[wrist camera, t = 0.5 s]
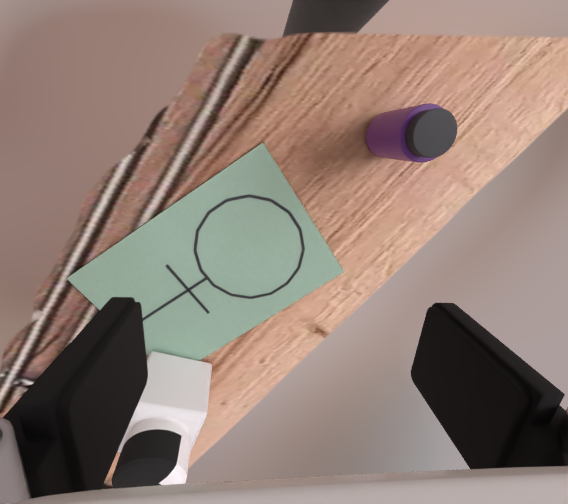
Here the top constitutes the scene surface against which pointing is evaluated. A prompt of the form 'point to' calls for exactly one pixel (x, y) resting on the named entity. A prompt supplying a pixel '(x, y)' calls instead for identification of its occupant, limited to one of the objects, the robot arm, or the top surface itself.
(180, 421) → the medicine bottle
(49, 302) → the top surface
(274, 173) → the sketch card
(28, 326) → the top surface
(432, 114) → the cylinder
